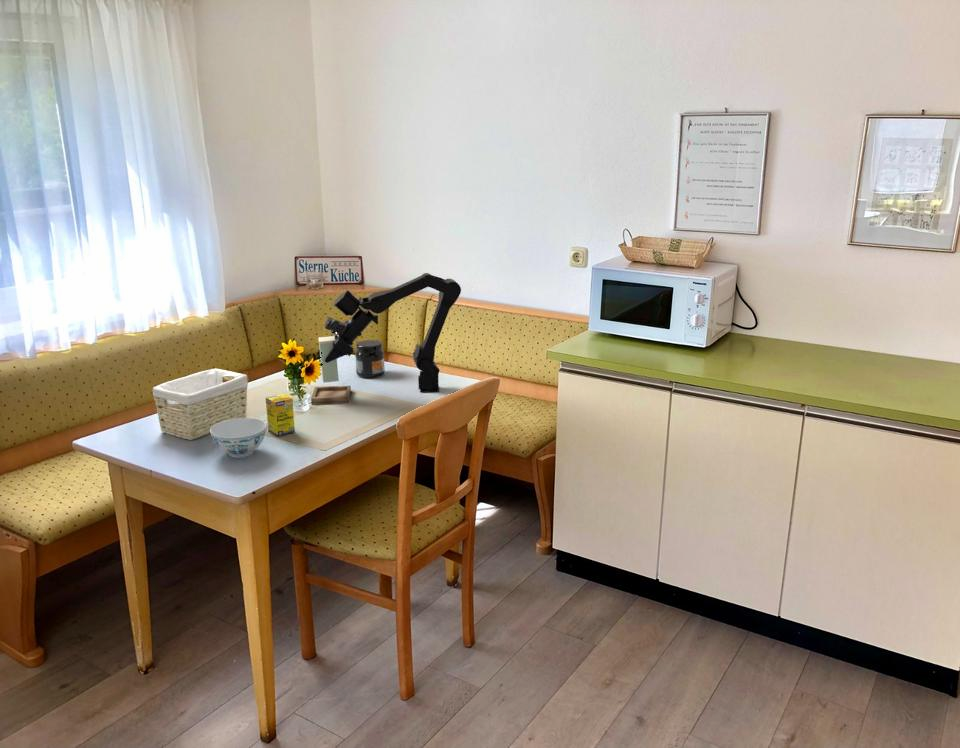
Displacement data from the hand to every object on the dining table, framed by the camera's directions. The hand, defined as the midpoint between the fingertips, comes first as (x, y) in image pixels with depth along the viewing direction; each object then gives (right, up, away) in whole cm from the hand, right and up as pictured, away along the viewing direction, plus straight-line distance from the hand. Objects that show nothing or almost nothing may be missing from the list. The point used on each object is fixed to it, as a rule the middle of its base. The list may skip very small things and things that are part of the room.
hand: (325, 359), depth 261 cm
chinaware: (-16, -27, -40) cm, 51 cm away
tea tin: (+1, -7, +3) cm, 7 cm away
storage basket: (-33, -21, -19) cm, 43 cm away
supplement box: (-8, -22, -25) cm, 34 cm away
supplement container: (+11, -5, +29) cm, 31 cm away
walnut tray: (+1, -13, +5) cm, 13 cm away
